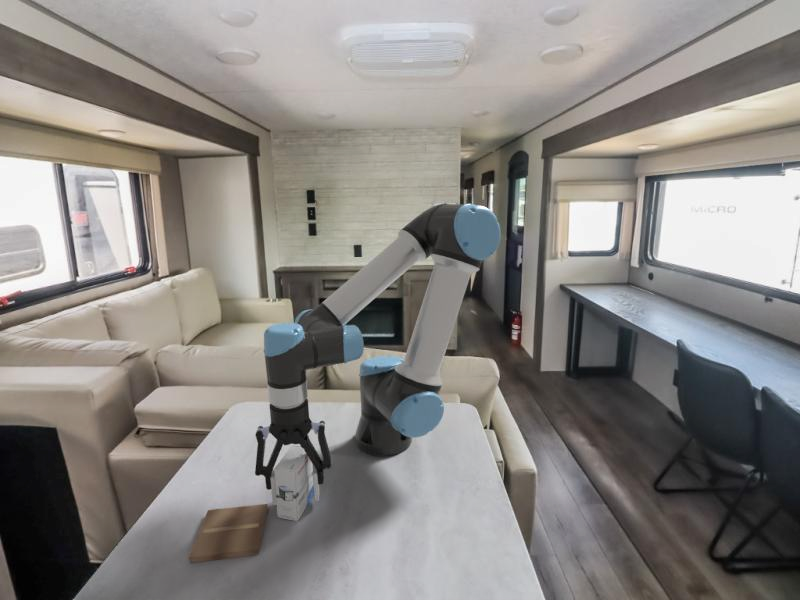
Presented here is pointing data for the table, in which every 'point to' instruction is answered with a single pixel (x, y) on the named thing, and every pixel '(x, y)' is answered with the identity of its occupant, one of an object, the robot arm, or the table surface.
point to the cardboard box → (230, 533)
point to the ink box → (293, 483)
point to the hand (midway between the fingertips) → (296, 498)
